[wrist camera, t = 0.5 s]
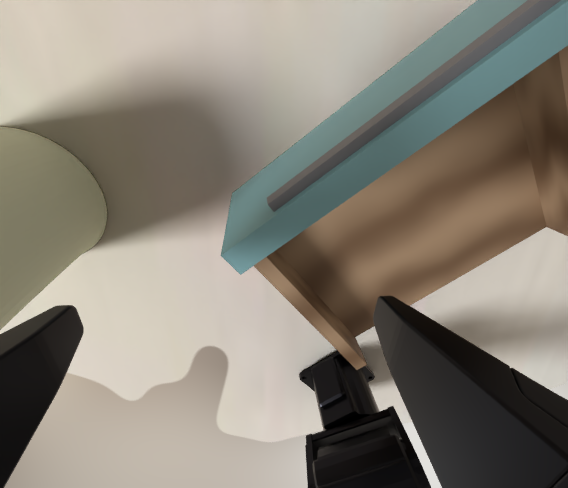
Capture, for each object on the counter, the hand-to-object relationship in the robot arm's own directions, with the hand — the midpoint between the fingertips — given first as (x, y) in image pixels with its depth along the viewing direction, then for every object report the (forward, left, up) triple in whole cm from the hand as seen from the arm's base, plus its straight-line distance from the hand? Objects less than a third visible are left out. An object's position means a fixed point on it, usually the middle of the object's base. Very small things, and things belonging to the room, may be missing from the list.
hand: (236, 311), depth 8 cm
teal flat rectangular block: (-1, -8, -11) cm, 14 cm away
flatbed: (-9, -8, -13) cm, 18 cm away
